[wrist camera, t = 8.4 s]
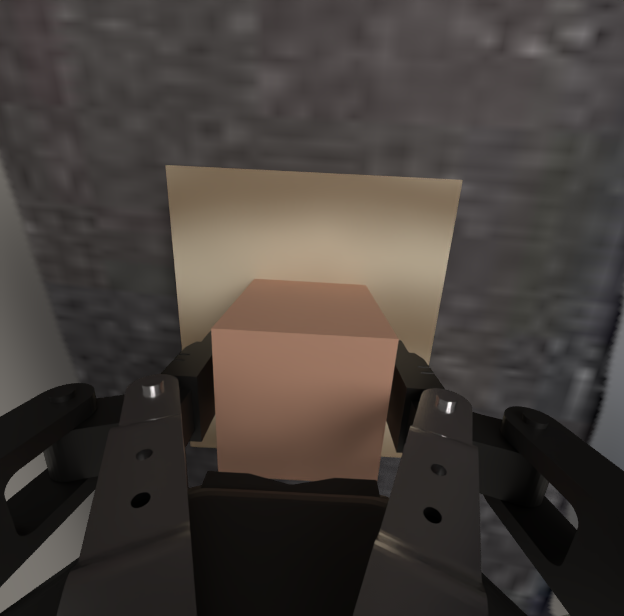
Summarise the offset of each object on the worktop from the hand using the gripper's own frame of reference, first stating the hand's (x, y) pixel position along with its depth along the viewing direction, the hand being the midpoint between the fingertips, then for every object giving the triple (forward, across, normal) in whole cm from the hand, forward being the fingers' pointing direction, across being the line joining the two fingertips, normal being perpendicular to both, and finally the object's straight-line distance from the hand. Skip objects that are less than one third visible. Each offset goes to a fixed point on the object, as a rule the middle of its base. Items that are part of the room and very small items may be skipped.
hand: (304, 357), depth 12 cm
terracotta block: (+3, 0, 0) cm, 3 cm away
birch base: (+7, 0, 0) cm, 7 cm away
